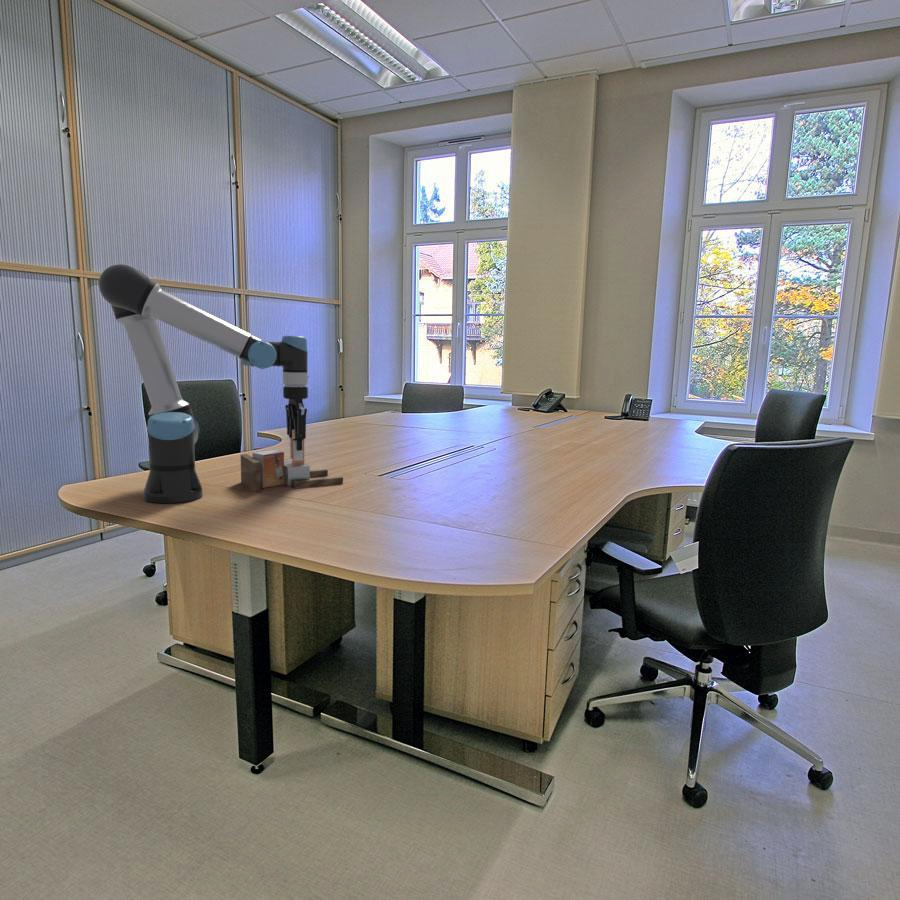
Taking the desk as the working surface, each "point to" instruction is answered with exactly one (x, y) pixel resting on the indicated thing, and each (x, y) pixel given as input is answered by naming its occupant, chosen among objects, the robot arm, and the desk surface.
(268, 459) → the small box
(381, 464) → the desk surface
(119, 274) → the robot arm
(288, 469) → the mallet
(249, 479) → the frame
